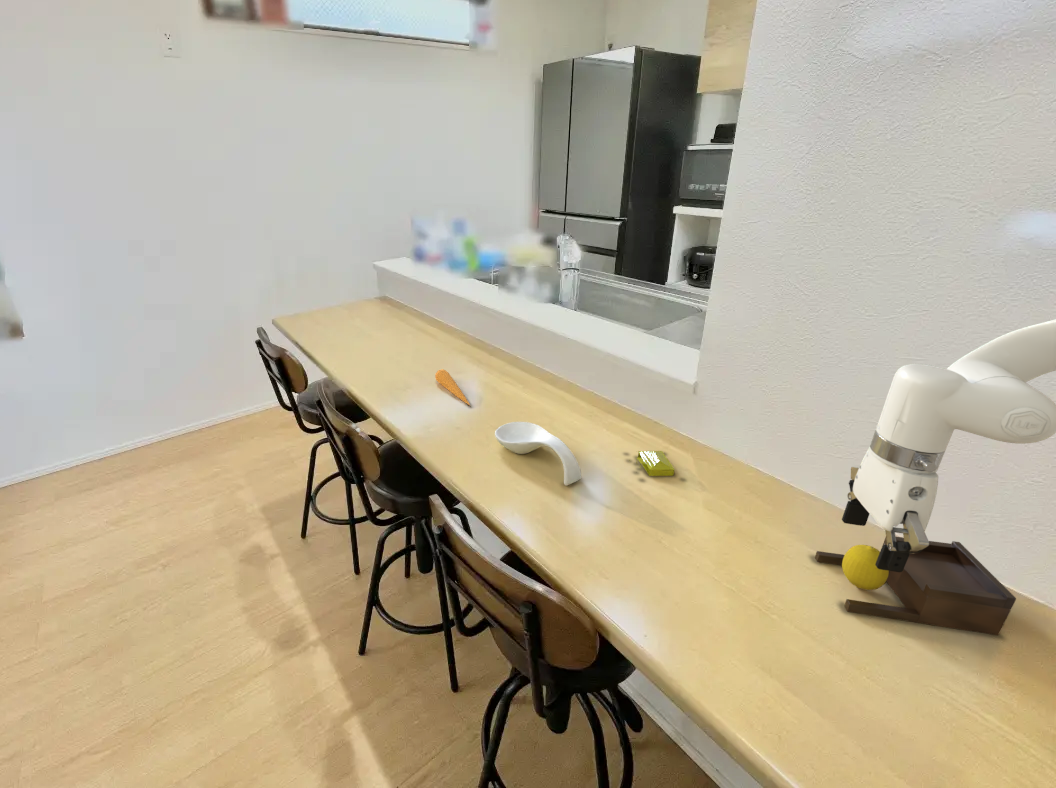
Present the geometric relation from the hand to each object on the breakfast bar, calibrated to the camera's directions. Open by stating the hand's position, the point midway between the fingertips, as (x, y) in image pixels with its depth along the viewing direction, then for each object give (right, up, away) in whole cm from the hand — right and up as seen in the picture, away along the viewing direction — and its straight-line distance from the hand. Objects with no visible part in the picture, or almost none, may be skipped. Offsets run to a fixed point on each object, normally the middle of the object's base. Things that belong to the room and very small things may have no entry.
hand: (869, 544), depth 76 cm
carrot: (-65, +15, +70) cm, 96 cm away
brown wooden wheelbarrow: (+6, -8, +2) cm, 10 cm away
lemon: (0, -8, +3) cm, 9 cm away
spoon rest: (-45, +4, +38) cm, 59 cm away
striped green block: (-20, +3, +34) cm, 40 cm away
